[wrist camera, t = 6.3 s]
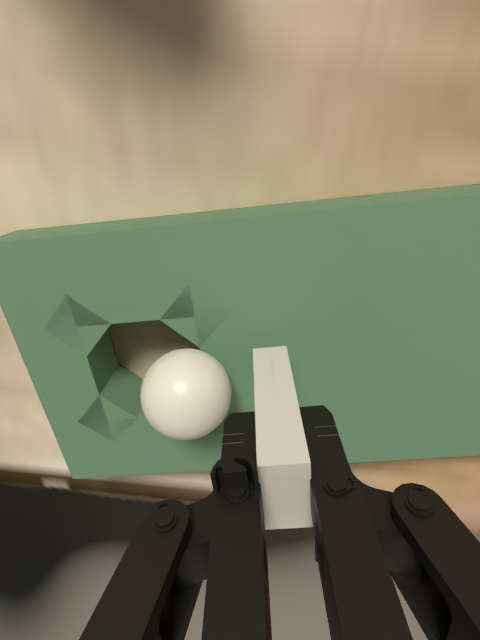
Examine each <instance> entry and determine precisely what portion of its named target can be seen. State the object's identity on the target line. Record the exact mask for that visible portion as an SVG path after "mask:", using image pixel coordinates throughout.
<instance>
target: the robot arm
mask: <svg viewBox="0 0 480 640" xmlns="http://www.w3.org/2000/svg"><path fill="white" fill-rule="evenodd" d="M253 370H254V398H255V411H251V412H238V413H230V414H229V416H228V417H227V419H226V420H225V422H224V427H223V439H222V452H221V459H220V460H218V461H217V462H216V464H215V465H214V466H213V468H212V471H211V473H210V475H211V480H212V485H213V490H214V491H213V492H212V493H211V494H210V495H208V496H207V497H206V498H204V499H202V500H200V501H198V502H195V503H192V504H190V505H187V506H185V505H184V504H183V502H181V501H178V500H175V499H168V500H164V501H161V502H158V503H157V504H155V505H154V506H152V507H151V508H150V509H149V510H148V511H147V513H146V514H145V516H144V517H143V519H142V521H141V523H140V525H139V527H138V529H137V530H136V532H135V534H134V536H133V538H132V540H131V542H130V544H129V546H128V548H127V549H126V551H125V553H124V555H123V557H122V559H121V561H120V563H119V565H118V566H117V569H116V570H115V572H114V574H113V576H112V578H111V580H110V582H109V584H108V586H107V588H106V589H105V591H104V593H103V595H102V597H101V599H100V601H99V603H98V605H97V606H96V608H95V610H94V612H93V614H92V616H91V618H90V620H89V622H88V624H87V626H86V627H85V629H84V631H83V633H82V635H81V637H80V639H79V640H184V638H185V635H186V632H187V629H188V626H189V622H190V619H191V616H192V613H193V610H194V607H195V603H196V600H197V597H198V594H199V591H200V588H201V584H202V581H203V580H205V579H207V584H206V597H205V608H204V618H203V630H202V640H272V635H271V616H270V599H269V581H268V564H267V563H268V562H267V547H266V538H265V530H267V529H268V530H269V529H286V528H304V527H314V533H315V555H316V556H315V557H316V558H315V559H316V562H318V565H319V571H320V577H321V583H322V589H323V594H324V600H325V606H326V612H327V617H328V623H329V629H330V635H331V640H413V638H412V636H411V633H410V630H409V627H408V624H407V621H406V618H405V615H404V612H403V609H402V606H401V603H400V600H399V597H398V594H397V591H396V588H395V586H394V582H393V580H394V581H395V583H396V585H397V586H398V588H399V590H400V592H401V593H402V595H403V597H404V599H405V600H406V602H407V604H408V605H409V607H410V609H411V611H412V612H413V614H414V616H415V618H416V619H417V621H418V623H419V625H420V626H421V628H422V630H423V632H424V633H425V635H426V637H427V638H428V640H480V542H479V541H478V540H477V539H476V538H475V536H474V535H473V534H472V533H471V532H470V531H469V529H468V528H467V527H466V526H465V525H464V524H463V523H462V521H461V520H460V519H459V518H458V517H457V516H456V514H455V513H454V512H453V511H452V510H451V509H450V507H449V506H448V505H447V504H446V503H445V502H444V500H443V499H442V498H441V497H440V496H439V495H438V494H436V493H435V492H434V491H433V490H431V489H429V488H427V487H425V486H423V485H419V484H414V483H408V484H402V485H400V486H399V487H397V488H396V489H395V490H394V492H389V491H384V490H379V489H376V488H372V487H369V486H367V485H366V484H364V483H362V482H361V481H360V480H358V479H357V478H356V477H355V476H354V474H353V473H352V471H351V469H350V467H349V463H348V460H347V457H346V454H345V451H344V448H343V445H342V442H341V439H340V436H339V433H338V430H337V427H336V424H335V421H334V418H333V415H332V413H331V412H330V411H329V410H328V409H327V408H326V407H325V406H324V405H319V406H305V407H299V404H298V399H297V394H296V390H295V385H294V380H293V375H292V370H291V366H290V361H289V356H288V351H287V346H278V347H266V348H255V349H253ZM391 576H392V577H391ZM392 578H393V579H392Z"/></svg>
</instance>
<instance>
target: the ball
mask: <svg viewBox="0 0 480 640" xmlns="http://www.w3.org/2000/svg"><path fill="white" fill-rule="evenodd" d="M231 396H232V390H231V383H230V379H229V376H228V374H227V372H226V370H225V369H224V367H223V366H222V364H221V363H220V362H219V361H218V360H217V359H216V358H214V357H213V356H212V355H210V354H208V353H206V352H204V351H201V350H198V349H192V348H183V349H177V350H173V351H171V352H168V353H166V354H164V355H163V356H161V357H160V358H158V359H157V360H156V361H155V362H154V363H153V364H152V365H151V367H150V368H149V369H148V371H147V373H146V375H145V377H144V379H143V382H142V386H141V393H140V398H141V406H142V409H143V412H144V415H145V417H146V418H147V420H148V422H149V423H150V424H151V425H152V426H153V428H154V429H156V430H157V431H158V432H159V433H161V434H163V435H164V436H167V437H169V438H172V439H176V440H193V439H197V438H200V437H203V436H205V435H207V434H209V433H210V432H212V431H213V430H214V429H215V428H217V427H218V426H219V424H220V423H221V422H222V421H223V419H224V418H225V416H226V414H227V412H228V410H229V407H230V403H231Z"/></svg>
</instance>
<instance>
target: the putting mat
mask: <svg viewBox="0 0 480 640" xmlns="http://www.w3.org/2000/svg"><path fill="white" fill-rule="evenodd" d="M0 305H1V308H2V310H3V312H4V315H5V317H6V320H7V322H8V324H9V327H10V329H11V332H12V334H13V336H14V339H15V341H16V344H17V346H18V348H19V351H20V353H21V356H22V358H23V360H24V363H25V365H26V367H27V370H28V372H29V375H30V377H31V379H32V382H33V384H34V387H35V389H36V391H37V394H38V396H39V399H40V401H41V403H42V406H43V408H44V411H45V413H46V415H47V418H48V420H49V423H50V425H51V427H52V430H53V432H54V435H55V437H56V439H57V442H58V444H59V447H60V449H61V451H62V454H63V456H64V458H65V461H66V463H67V466H68V468H69V470H70V473H71V475H72V478H73V479H82V478H99V477H117V476H134V475H151V474H169V473H186V472H203V471H212V468H213V466H214V465H215V464H216V462H217V461H218V460H220V459H221V452H222V439H223V427H224V422H225V420H226V419H227V417H228V416H229V414H230V413H238V412H251V411H255V398H254V370H253V349H255V348H266V347H278V346H287V351H288V356H289V361H290V366H291V370H292V375H293V380H294V385H295V390H296V394H297V399H298V404H299V407H305V406H319V405H324V406H325V407H326V408H327V409H328V410H329V411H330V412H331V413H332V415H333V418H334V421H335V424H336V427H337V430H338V433H339V436H340V439H341V442H342V445H343V448H344V451H345V454H346V457H347V460H348V463H359V462H377V461H394V460H411V459H429V458H446V457H463V456H480V184H473V185H463V186H453V187H444V188H434V189H424V190H414V191H404V192H394V193H384V194H375V195H365V196H355V197H345V198H335V199H325V200H316V201H306V202H296V203H286V204H276V205H266V206H257V207H247V208H237V209H227V210H217V211H207V212H197V213H188V214H178V215H168V216H158V217H148V218H138V219H129V220H119V221H109V222H99V223H89V224H79V225H70V226H60V227H50V228H40V229H30V230H20V231H15V232H12V233H9V234H6V235H3V236H0ZM152 320H160V321H162V322H163V323H165V324H166V325H167V326H169V327H170V328H172V329H173V330H175V331H176V332H178V333H179V334H180V335H182V336H183V337H185V338H186V339H188V340H189V341H190V342H192V343H193V344H195V345H196V346H198V347H199V348H200V350H201V351H204V352H206V353H208V354H210V355H212V356H213V357H214V358H216V359H217V360H218V361H219V362H220V363H221V364H222V366H223V367H224V369H225V370H226V372H227V374H228V376H229V379H230V383H231V390H232V396H231V403H230V407H229V410H228V412H227V414H226V416H225V418H224V419H223V421H222V422H221V423H220V424H219V426H218V427H217V428H215V429H214V430H213V431H212V432H210V433H209V434H207V435H205V436H203V437H200V438H197V439H193V440H176V439H172V438H169V437H167V436H164V435H163V434H161V433H159V432H158V431H157V430H156V429H154V428H153V426H152V425H151V424H150V423H149V422H148V420H147V418H146V417H145V415H144V412H143V409H142V406H141V398H140V393H141V386H142V382H143V379H141V378H140V377H138V376H136V375H135V374H133V373H132V372H130V371H129V370H127V369H125V368H124V367H122V366H121V365H119V364H118V361H117V358H116V354H115V351H114V347H113V344H112V340H111V337H110V334H109V330H108V329H109V328H110V326H111V325H112V324H117V323H129V322H141V321H152Z"/></svg>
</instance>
